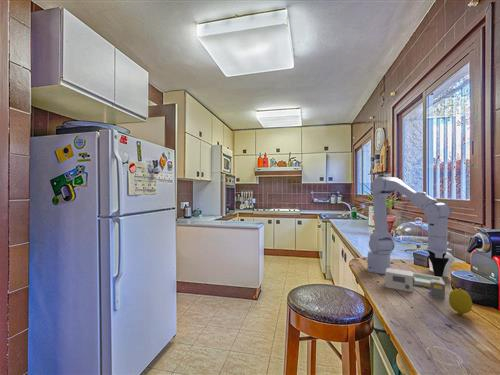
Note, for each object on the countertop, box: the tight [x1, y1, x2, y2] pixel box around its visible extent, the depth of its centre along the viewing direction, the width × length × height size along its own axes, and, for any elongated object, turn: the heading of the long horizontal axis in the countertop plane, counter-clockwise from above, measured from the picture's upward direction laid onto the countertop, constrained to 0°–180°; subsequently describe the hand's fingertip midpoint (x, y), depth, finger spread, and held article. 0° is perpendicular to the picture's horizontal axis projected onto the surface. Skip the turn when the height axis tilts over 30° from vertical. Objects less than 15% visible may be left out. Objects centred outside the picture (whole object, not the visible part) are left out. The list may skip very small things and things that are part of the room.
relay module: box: [429, 279, 446, 300], centre depth 91 cm, size 4×4×5 cm
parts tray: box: [413, 272, 444, 289], centre depth 102 cm, size 11×11×2 cm
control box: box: [385, 267, 415, 293], centre depth 98 cm, size 10×6×6 cm
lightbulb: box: [442, 252, 455, 278], centre depth 109 cm, size 6×6×11 cm
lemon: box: [448, 287, 473, 315], centre depth 77 cm, size 6×6×8 cm
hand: (437, 273), depth 91 cm, fingers open, 7 cm apart
